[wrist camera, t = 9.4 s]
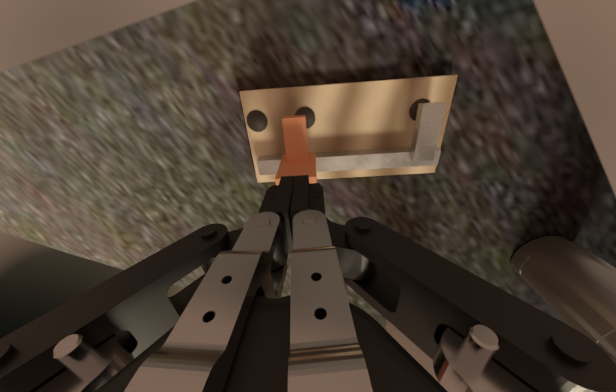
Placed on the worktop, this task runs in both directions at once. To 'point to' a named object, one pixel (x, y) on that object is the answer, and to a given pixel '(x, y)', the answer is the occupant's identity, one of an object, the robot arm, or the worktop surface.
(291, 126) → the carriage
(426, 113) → the rail
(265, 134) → the hole board
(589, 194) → the worktop surface
